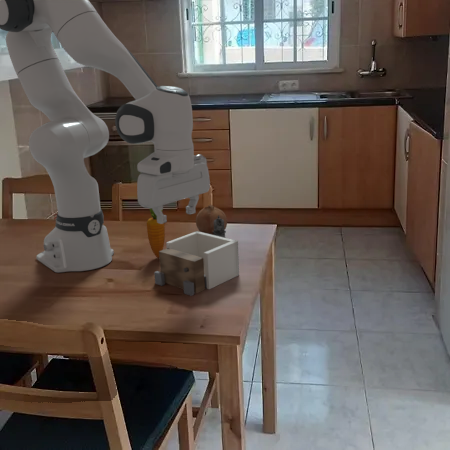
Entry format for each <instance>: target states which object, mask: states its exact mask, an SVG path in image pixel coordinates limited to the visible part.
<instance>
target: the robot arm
mask: <svg viewBox="0 0 450 450" xmlns="http://www.w3.org/2000/svg"><path fill="white" fill-rule="evenodd" d="M0 30H2V31H6V32H7V33H6V36H5V43H6V47H7V51H8V54H9V58H10V61H11V64H12V66H13V67H12V68H13V69H14V71H15V74H16V75H17V78H18V81H19V82H20V84H21V87H22V89H23V92H24V93H25V95H26V97H27V99H28V101H29V103H30V104H31V106H32V107H34V108H35V109H36V110H38V111H39V112H42V114H44V115H45V116H46V117H47V118H48V120H49V121H48V122H46V123H44V124H41V125H40V126H38V127H37V128H35V129H34V130H33V131H32V132H31V133H30V136H29V138H28V147H29V152H30V154H31V156H32V158H33V160H35V161H36V162H37V163H38V164H40V165H41V166H42V167H43V168H44V169H45V171H46V172H47V173H48V175H49V177H50V180H51V182H52V185H53V191H54V195H55V200H56V201H55V202H56V208H57V213H55V214H53V216H55V217H53V219H54V220H55V226H54V228H53V229H52V230H51V231H50V232H49V233H48V234H47V235H46V236H44V240H43V249H44V251H41V252H40V253H38V254H37V255H36V260H37V261H39V262H40V263H41V264H43V265H44V266H46V267H47V268H49V269H50V271H51V270H52V271H53V272H55V273H65V272H84V271H91V270H95V269H100V268H103V267H105V266H107V265H108V264H109V263H111V261H112V260H113V255H114V253H115V251H114V249H113V248H111V245H110V239H109V234H108V233H109V232H108V230H107V226H105V225H104V217H105V216H104V213H103V209H101V199H100V193H99V184H98V183H99V182H97V180H96V179H95V178H94V177H93V176H91V175H90V173H89V172H88V168H87V167H86V164H85V159H86V158H89V157H91V156H95V155H96V154H98V153H99V152H100V151H101V150H102V149H104V148H105V147H106V146H107V144H108V142H109V139H110V131H109V128H108V125H107V124H106V122H105V121H104V120H103V119H102V118H100V117H99V116H97V115H95V114H94V113H93V112H92V111H91V110H90V109H89V108H88V107H87V106H86V105H85V103H84V102H83V101H82V100H81V98H80V96H79V95H78V94H77V93H76V91H75V90H74V88H73V86H72V84H71V83H70V81H69V78H68V77H67V74H66V72H65V70H64V68H63V65H62V63H61V62H60V61H61V60H59V57H58V55H57V53H56V51H55V48H54V46H53V43H52V33H53V34H54V36H55V37H56V38H57V40H58V42H59V44H60V45H61V46H62V48H63V50H64V51H65V52H66V53H67V55H68V56H70V57H71V59H72V60H73V61H74V62H75V63H77V64H80V65H82V66H84V67H88V68H93V69H96V70H100V71H102V72H105V73H107V74H110V75H112V76H114V77H115V78H117V80H119V81H120V82H121V83H122V84H123V85H124V87H125V88H126V89H127V91H128V92H129V93H130V95H131V96H132V97H133V98H134V100H132V101H129V102H127V103H124V104H122V105H120V107H119V108H118V109H117V111H116V114H115V118H114V120H115V121H114V123H115V124H114V125H115V129H116V132H117V134H118V135H119V136H120V138H121V139H122V140H123V141H124V142H126V143H128V144H131V145H132V144H133V145H141V144H145V143H150V142H151V143H153V146H154V152H152V153H150V154H149V155H148V156H146V157H145V158H143V159H142V160H140V161H139V162H138V163H137V164H136V165H137V166H136V167H137V171H138V172H140V173H139V175H138V177H137V182H136V183H137V184H136V185H137V186H136V187H137V191H136V194H137V203H138V204H139V205H140V206H141V207H143V208H146V209H149V208H150V209H151V208H152V210H153V211H154V213H155V214H156V216H157V222H158V223H159V224H163V223H167V221H168V220H167V215H166V214H164V213H163V210H164V206H165V205H168V204H171V203H174V202H178V201H182V200H185V199H189V202H188V205H187V206H185V214H187V215H191V216H192V215H194V214H196V207H197V205H198V202H199V200H200V199H199V197H200V195H202V194H205V193H209V190H210V188H211V181H210V173H209V167H208V161H207V158H206V156H204V155H203V154H201V153H200V154H196V155H194V154H195V152H194V150H195V147H194V142H193V137H192V133H193V129H194V122H193V121H194V120H193V118H194V116H193V108H192V107H193V106H192V100H191V97H190V95H189V92H187V91H186V90H184V88H181V87H178V86H173V85H172V86H170V85H157V83H156V82H155V81H154V79H152V77H151V76H150V74H149V73H148V71H146V69H145V67H143V65H142V64H141V63H140V62H139V61H138V60H137V58H136V57H135V56H134V55H133V53H132V52H131V51H130V50H129V49H128V48H127V46H125V44H123V43H122V41H120V40H119V38H118V37H116V36H115V34H114V33H113V32H112V30H111V29H110V28H109V26H108V25H107V24H106V23H105V22H104V20H103V19H102V17H101V16H100V14H99V13H98V11H97V9H96V8H95V7H94V5H93V4H92V3H91V2H90V0H0ZM150 209H149V210H150ZM161 210H162V211H161Z"/></svg>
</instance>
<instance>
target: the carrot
mask: <svg viewBox="0 0 450 450" xmlns="http://www.w3.org/2000/svg"><path fill="white" fill-rule="evenodd" d="M148 209H149V212H150V216H151V217H150V218H148V220H147V221H146V232H147V238H148V242H149V245H150V246H149V247H150V249H151V251H152V253H153V255H154V256H155V257H156V258H157V259H159V251H161V250H164V247H165V238H166V231H165V230H166V227H165V225H166V224H165V223H163V224H159V223H158V222H157V216H156V214H155V213H154V211H153V210H152V208H151V209H150V208H148ZM161 211H162V212H163V209H162V210H161Z"/></svg>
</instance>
